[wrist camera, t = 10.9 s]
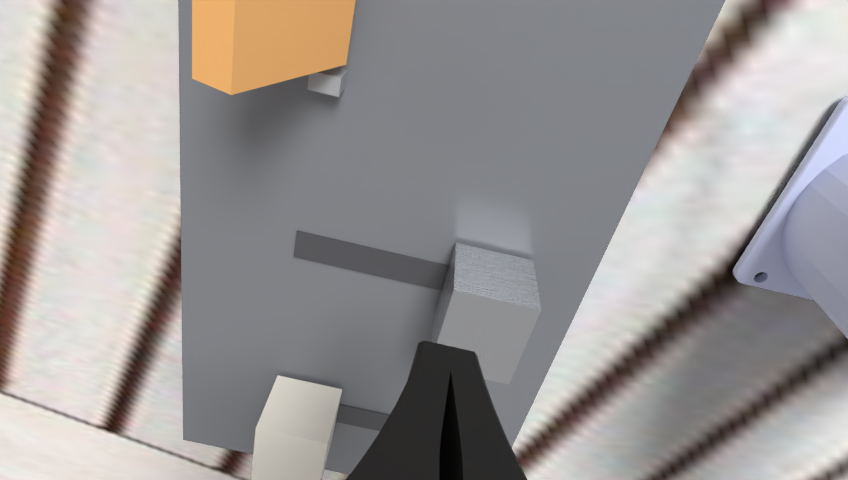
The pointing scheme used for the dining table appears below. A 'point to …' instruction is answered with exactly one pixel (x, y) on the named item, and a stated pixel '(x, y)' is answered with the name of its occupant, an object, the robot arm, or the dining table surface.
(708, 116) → the dining table surface
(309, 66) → the orange toggle
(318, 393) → the cream slider
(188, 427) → the control panel
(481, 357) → the grey slider
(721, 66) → the dining table surface
